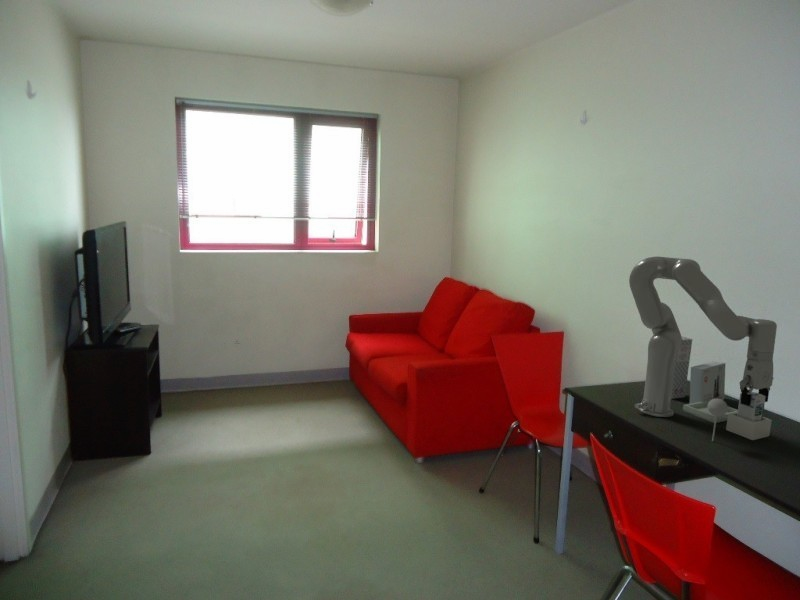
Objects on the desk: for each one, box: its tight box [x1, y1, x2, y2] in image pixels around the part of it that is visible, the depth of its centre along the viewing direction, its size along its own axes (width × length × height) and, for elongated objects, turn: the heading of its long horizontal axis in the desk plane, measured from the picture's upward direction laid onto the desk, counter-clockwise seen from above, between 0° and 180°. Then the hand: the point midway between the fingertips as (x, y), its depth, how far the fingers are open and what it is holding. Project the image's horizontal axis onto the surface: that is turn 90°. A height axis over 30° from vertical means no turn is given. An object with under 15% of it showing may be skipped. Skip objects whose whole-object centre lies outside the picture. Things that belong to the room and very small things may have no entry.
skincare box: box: [688, 361, 726, 404], centre depth 226 cm, size 21×5×16 cm, turn 127°
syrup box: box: [737, 391, 766, 422], centre depth 194 cm, size 6×6×14 cm
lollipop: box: [708, 398, 728, 442], centre depth 185 cm, size 6×6×15 cm
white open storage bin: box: [725, 412, 773, 441], centre depth 195 cm, size 10×10×6 cm
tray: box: [682, 400, 738, 424], centre depth 212 cm, size 16×13×2 cm
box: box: [671, 335, 693, 400], centre depth 231 cm, size 8×8×25 cm
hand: (754, 402), depth 193 cm, fingers open, 9 cm apart
